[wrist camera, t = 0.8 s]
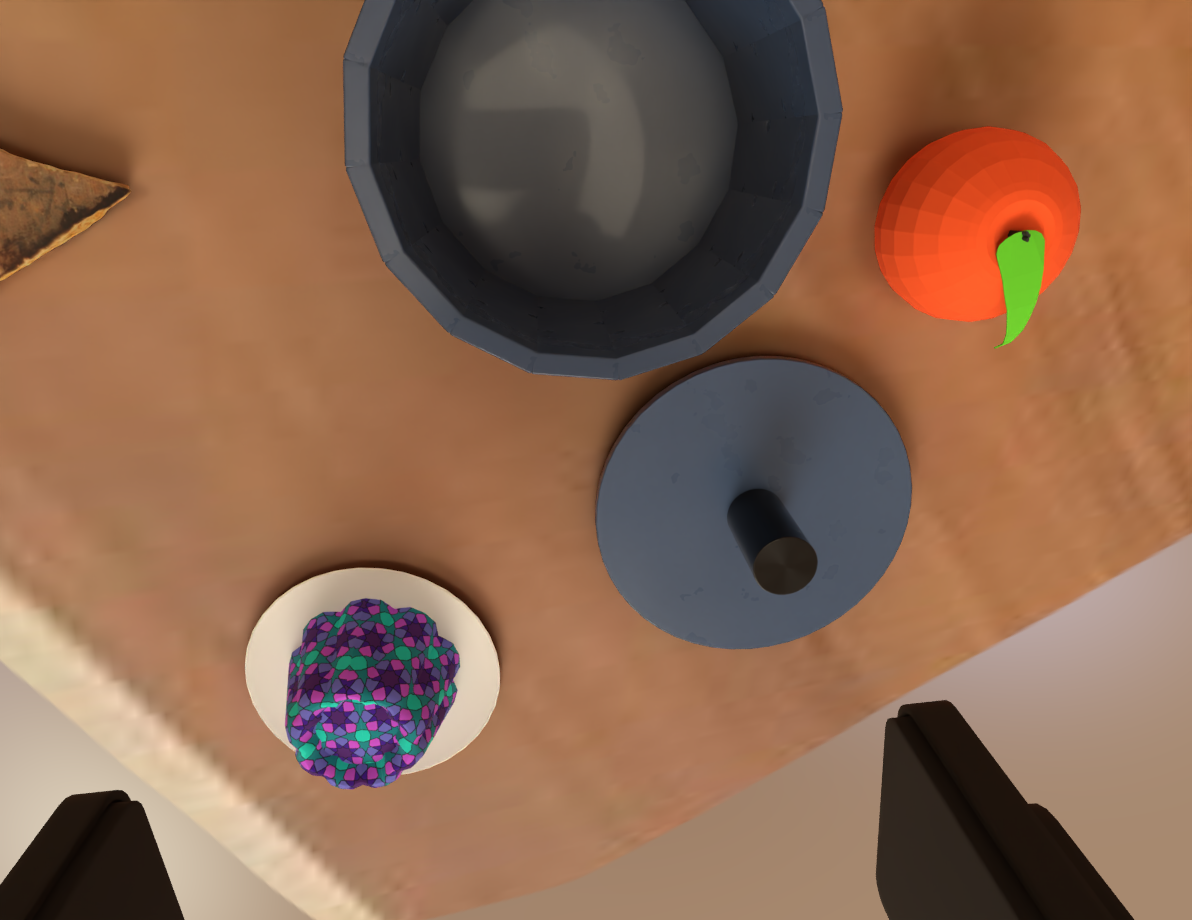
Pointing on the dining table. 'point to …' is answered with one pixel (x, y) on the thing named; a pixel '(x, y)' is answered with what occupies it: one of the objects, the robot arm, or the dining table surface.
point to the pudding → (371, 675)
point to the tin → (591, 167)
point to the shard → (46, 208)
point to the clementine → (978, 226)
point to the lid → (753, 502)
